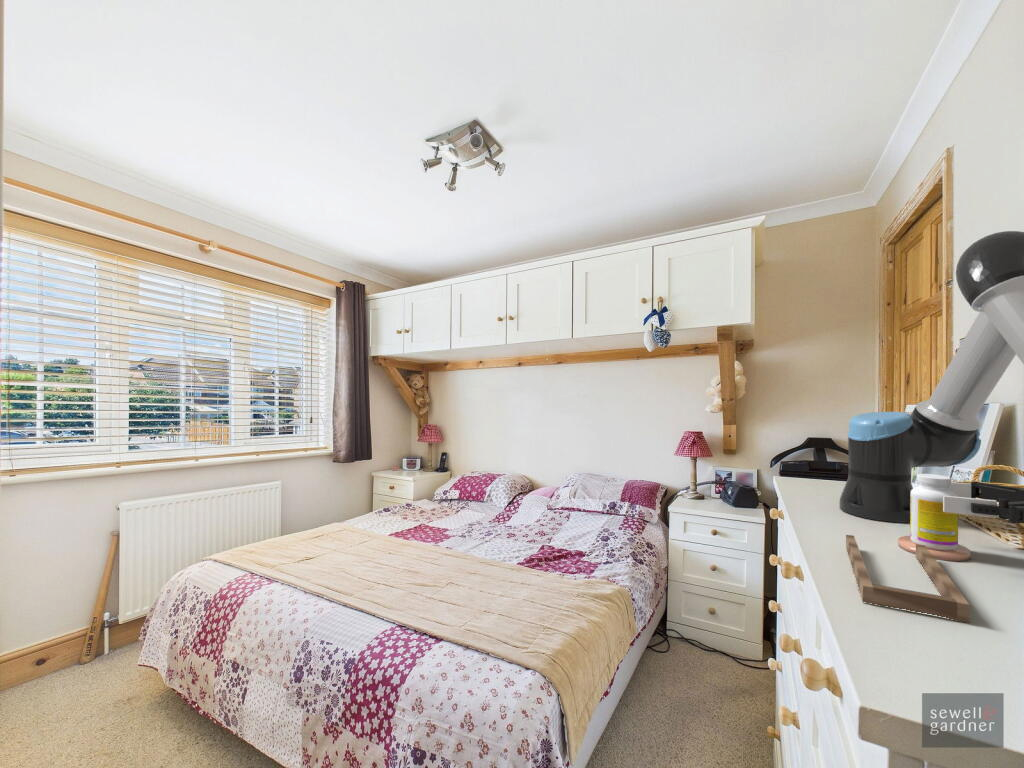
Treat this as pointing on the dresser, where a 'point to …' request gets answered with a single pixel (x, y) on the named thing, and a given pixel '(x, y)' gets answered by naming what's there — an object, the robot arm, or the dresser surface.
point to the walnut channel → (944, 605)
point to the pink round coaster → (936, 551)
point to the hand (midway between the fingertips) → (933, 494)
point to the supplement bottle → (932, 514)
